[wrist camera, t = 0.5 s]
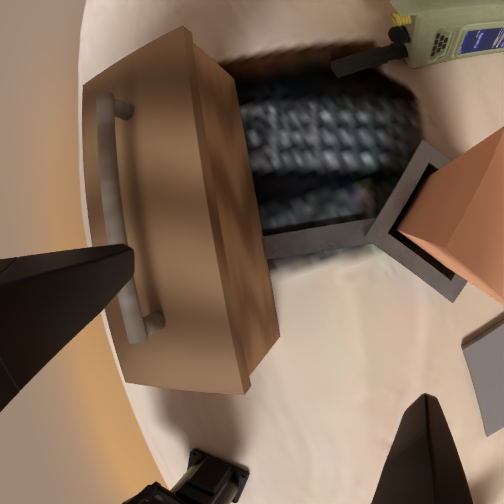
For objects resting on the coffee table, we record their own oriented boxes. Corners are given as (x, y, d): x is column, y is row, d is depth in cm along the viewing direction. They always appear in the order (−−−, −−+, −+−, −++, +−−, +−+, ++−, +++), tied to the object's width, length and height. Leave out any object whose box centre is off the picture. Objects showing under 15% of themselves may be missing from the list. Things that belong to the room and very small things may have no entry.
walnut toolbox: (284, 339, 22) (224, 419, 12) (186, 342, 25) (101, 397, 16) (237, 74, 21) (159, 6, 12) (149, 110, 24) (57, 77, 15)
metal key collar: (399, 351, 19) (402, 367, 17) (254, 250, 22) (241, 254, 20) (494, 208, 16) (508, 207, 14) (342, 104, 19) (338, 91, 17)
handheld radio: (568, 52, 10) (344, 97, 19) (550, 24, 10) (326, 62, 19) (596, 21, 4) (332, 48, 13) (572, -11, 4) (307, 9, 13)
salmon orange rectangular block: (440, 263, 18) (532, 326, 6) (394, 229, 19) (444, 248, 7) (469, 213, 17) (587, 212, 5) (424, 179, 18) (505, 125, 5)
